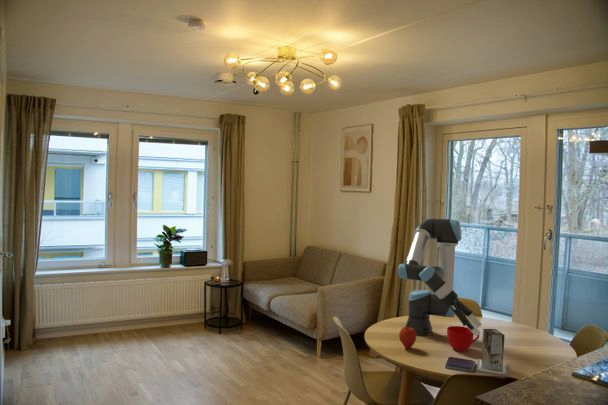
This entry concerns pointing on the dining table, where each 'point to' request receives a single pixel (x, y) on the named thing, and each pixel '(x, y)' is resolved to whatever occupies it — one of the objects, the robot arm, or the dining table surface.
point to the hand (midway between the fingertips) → (479, 330)
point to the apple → (407, 336)
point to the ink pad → (460, 364)
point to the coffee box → (492, 349)
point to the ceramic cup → (460, 337)
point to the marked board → (483, 368)
